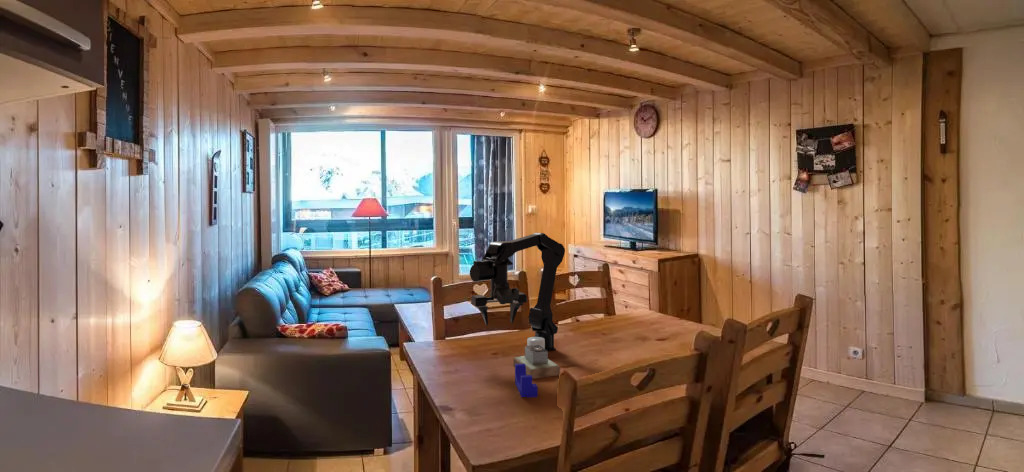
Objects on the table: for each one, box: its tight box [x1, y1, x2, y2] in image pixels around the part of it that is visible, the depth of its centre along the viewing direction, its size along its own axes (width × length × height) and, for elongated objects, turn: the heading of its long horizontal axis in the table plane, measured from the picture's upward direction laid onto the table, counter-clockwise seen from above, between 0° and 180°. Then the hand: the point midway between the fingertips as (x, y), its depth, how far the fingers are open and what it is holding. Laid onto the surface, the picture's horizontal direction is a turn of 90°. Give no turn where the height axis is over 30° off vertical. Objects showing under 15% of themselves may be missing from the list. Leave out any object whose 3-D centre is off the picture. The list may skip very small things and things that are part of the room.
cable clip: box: [514, 364, 539, 398], centre depth 155 cm, size 12×4×6 cm, turn 9°
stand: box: [513, 355, 561, 380], centre depth 173 cm, size 10×14×3 cm
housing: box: [524, 345, 549, 365], centre depth 172 cm, size 5×8×5 cm, turn 17°
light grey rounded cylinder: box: [526, 336, 545, 349], centre depth 184 cm, size 6×6×7 cm
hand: (499, 323), depth 183 cm, fingers open, 9 cm apart
